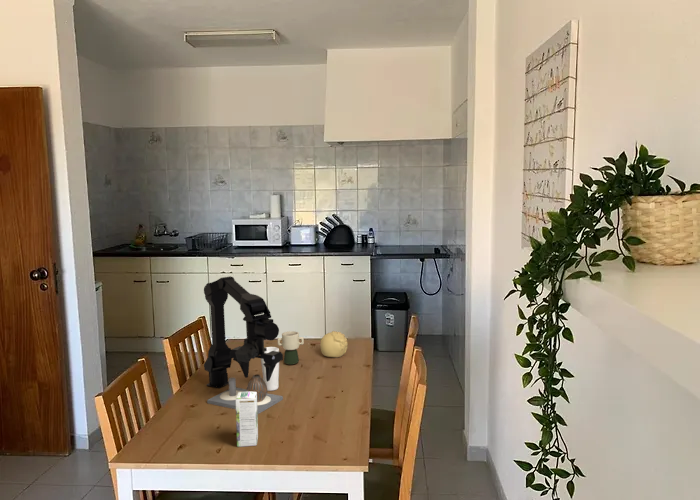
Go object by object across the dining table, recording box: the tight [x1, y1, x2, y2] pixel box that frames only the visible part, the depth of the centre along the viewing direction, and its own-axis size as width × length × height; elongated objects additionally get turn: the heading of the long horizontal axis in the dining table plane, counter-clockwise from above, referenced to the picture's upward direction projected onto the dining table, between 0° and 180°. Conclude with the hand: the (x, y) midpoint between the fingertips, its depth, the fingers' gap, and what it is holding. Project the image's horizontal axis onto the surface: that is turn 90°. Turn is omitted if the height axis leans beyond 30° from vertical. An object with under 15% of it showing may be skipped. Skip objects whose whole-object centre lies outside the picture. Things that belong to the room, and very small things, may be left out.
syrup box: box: [235, 391, 259, 448], centre depth 167 cm, size 6×6×14 cm
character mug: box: [277, 330, 305, 365], centre depth 240 cm, size 11×7×13 cm, turn 95°
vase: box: [246, 373, 268, 402], centre depth 197 cm, size 7×7×9 cm
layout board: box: [206, 377, 284, 415], centre depth 200 cm, size 22×14×7 cm, turn 62°
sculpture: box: [319, 330, 349, 358], centre depth 250 cm, size 12×12×11 cm
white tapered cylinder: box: [260, 346, 280, 392], centre depth 211 cm, size 7×7×15 cm
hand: (257, 379), depth 196 cm, fingers open, 9 cm apart
